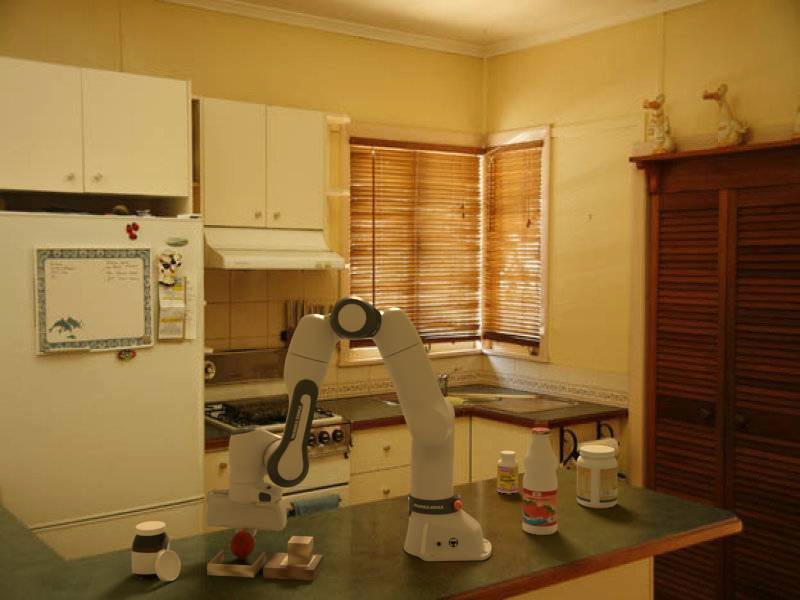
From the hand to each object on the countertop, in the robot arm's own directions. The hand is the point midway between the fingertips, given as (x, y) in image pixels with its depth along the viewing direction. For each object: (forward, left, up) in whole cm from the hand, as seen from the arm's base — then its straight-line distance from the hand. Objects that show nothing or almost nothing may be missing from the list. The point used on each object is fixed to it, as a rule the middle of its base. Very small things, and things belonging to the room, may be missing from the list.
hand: (246, 545), depth 212 cm
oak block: (-16, +9, 0) cm, 19 cm away
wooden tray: (-8, +9, -3) cm, 12 cm away
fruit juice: (-74, -30, -3) cm, 80 cm away
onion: (0, +3, -3) cm, 4 cm away
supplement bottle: (-65, -67, -3) cm, 93 cm away
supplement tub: (-92, -58, -3) cm, 108 cm away
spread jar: (+16, +16, -3) cm, 23 cm away
